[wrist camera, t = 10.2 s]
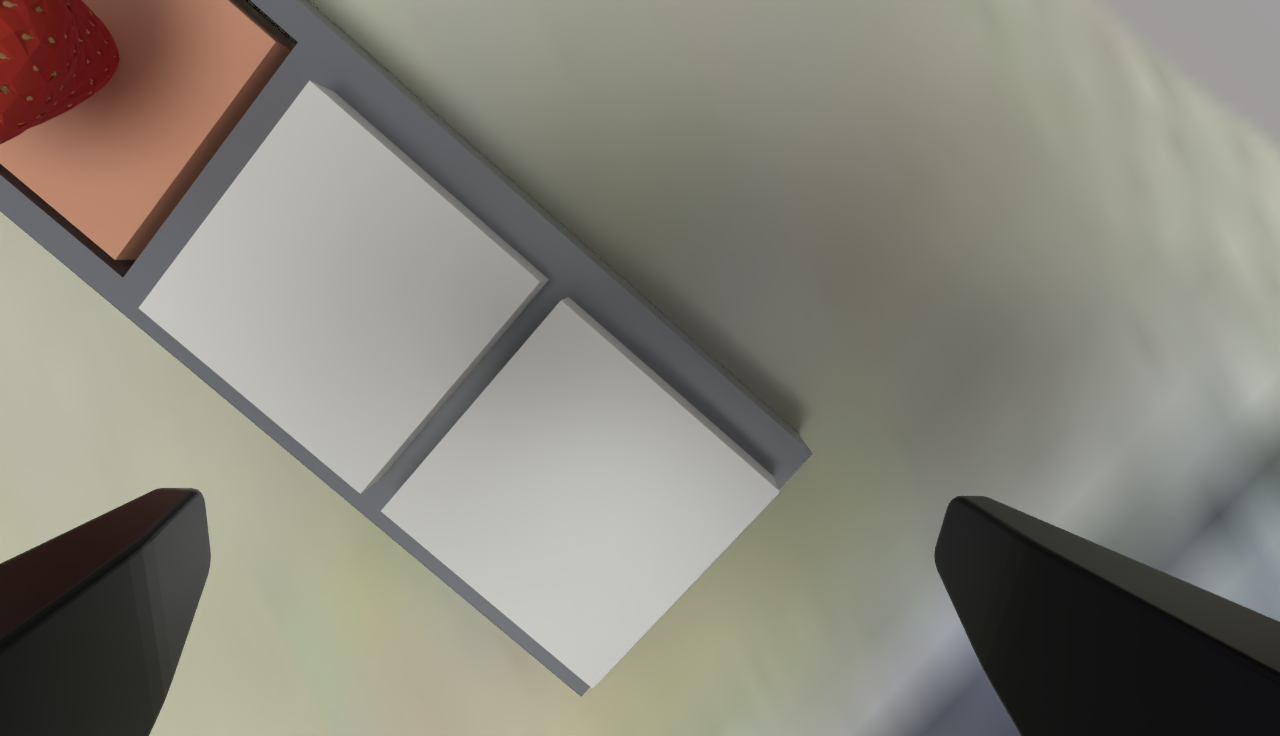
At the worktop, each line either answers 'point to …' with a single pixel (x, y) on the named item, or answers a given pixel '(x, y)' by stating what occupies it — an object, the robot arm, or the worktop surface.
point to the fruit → (49, 60)
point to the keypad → (445, 356)
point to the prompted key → (149, 116)
